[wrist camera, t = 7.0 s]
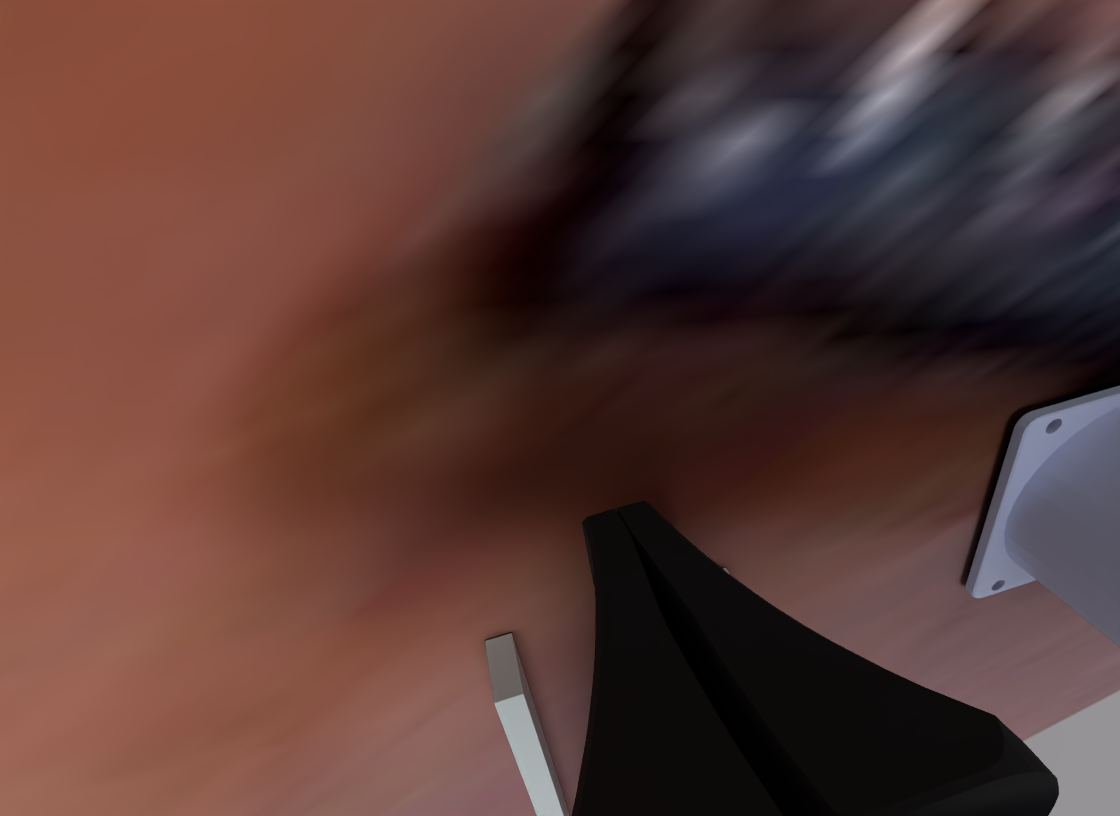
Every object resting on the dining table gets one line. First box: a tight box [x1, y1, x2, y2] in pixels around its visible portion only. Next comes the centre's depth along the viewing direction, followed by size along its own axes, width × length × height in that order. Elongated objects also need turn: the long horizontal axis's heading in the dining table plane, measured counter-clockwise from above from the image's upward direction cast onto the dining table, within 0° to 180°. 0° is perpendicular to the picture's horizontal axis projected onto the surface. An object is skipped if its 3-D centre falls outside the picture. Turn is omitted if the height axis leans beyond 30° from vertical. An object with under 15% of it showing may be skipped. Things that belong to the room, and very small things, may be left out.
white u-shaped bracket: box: [485, 568, 729, 816], centre depth 20 cm, size 8×13×2 cm, turn 10°
